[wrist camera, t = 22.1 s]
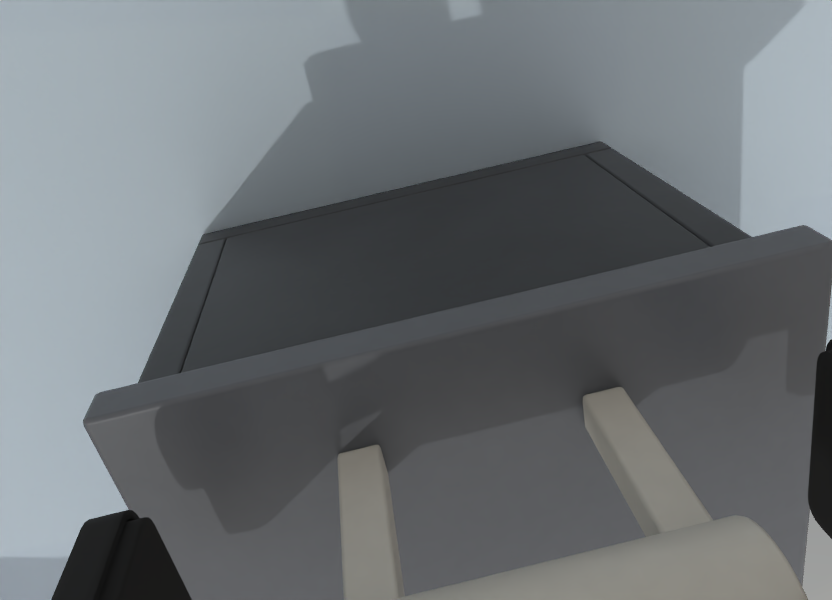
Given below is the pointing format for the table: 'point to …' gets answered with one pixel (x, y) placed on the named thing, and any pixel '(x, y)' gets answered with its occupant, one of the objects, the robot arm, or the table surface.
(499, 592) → the brewer lid
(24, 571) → the table surface
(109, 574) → the robot arm
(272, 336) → the dark grey storage bin
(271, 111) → the table surface
